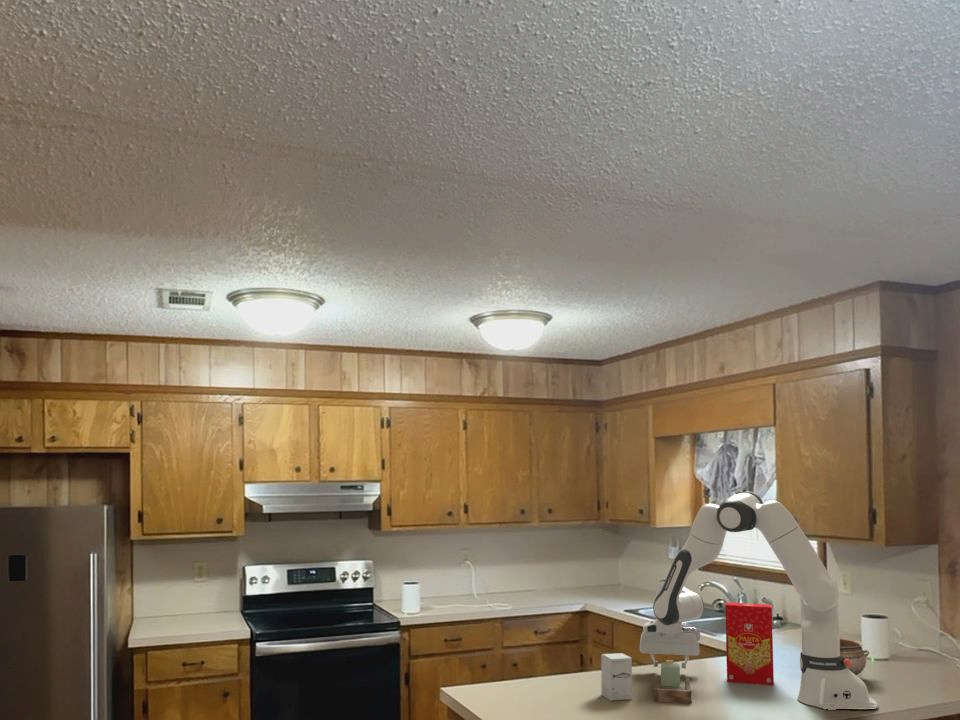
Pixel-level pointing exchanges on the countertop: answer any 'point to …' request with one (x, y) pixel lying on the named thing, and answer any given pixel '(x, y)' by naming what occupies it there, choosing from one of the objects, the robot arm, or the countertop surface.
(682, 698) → the lane
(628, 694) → the supplement box
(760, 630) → the food packaging
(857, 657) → the cooking pot
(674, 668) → the block
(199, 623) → the countertop surface
